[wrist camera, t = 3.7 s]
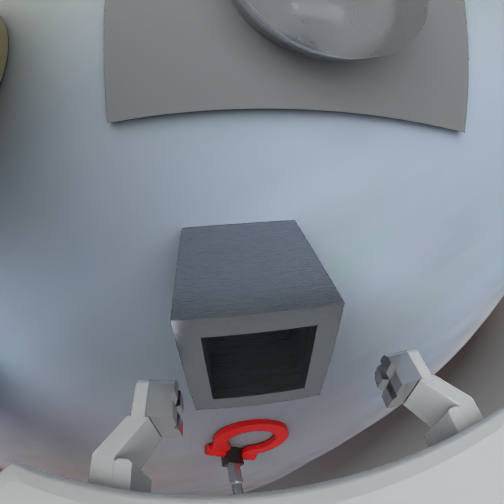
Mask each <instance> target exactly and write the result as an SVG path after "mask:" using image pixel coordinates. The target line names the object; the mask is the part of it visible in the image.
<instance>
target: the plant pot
mask: <svg viewBox="0 0 504 504" xmlns="http://www.w3.org/2000/svg"><path fill="white" fill-rule="evenodd" d="M7 54H8V34H7V28H6V25H5V23H4V21H3V20H2V18H1V17H0V82H1V80H2V77H3V73H4V70H5V65H6V61H7Z"/></svg>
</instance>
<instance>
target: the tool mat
mask: <svg viewBox="0 0 504 504" xmlns="http://www.w3.org/2000/svg"><path fill="white" fill-rule="evenodd" d="M428 2H429V5H428V14H427V17H426V21H425V24H424V26H423V28H422V30H421V32H420V33H419V34H418V36H417V37H416V38H415V39H414V40H413V41H412V42H411V43H410V44H409V45H407V46H406V47H404V48H403V49H401V50H399V51H397V52H395V53H392V54H389V55H385V56H381V57H374V58H365V59H357V60H350V61H338V62H333V61H321V60H315V59H310V58H307V57H303V56H299V55H297V54H294V53H292V52H289V51H287V50H285V49H283V48H281V47H279V46H277V45H275V44H273V43H272V42H270V41H269V40H267V39H265V38H264V37H263V36H262V35H260V34H259V33H258V32H256V31H255V30H254V29H253V28H252V27H251V26H250V25H249V24H248V23H247V22H246V21H245V20H244V19H243V17H242V16H241V15H240V14H239V12H238V11H237V9H236V8H235V6H234V4H233V3H232V0H105V10H104V79H105V97H106V110H107V121H108V123H110V122H116V121H122V120H128V119H134V118H141V117H148V116H155V115H163V114H172V113H182V112H193V111H206V110H223V109H260V108H271V109H308V110H325V111H338V112H349V113H358V114H367V115H375V116H383V117H390V118H396V119H402V120H408V121H414V122H419V123H424V124H429V125H434V126H439V127H443V128H448V129H452V130H456V131H460V132H464V133H465V124H466V114H467V100H468V34H467V21H466V11H465V3H464V0H428Z"/></svg>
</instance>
